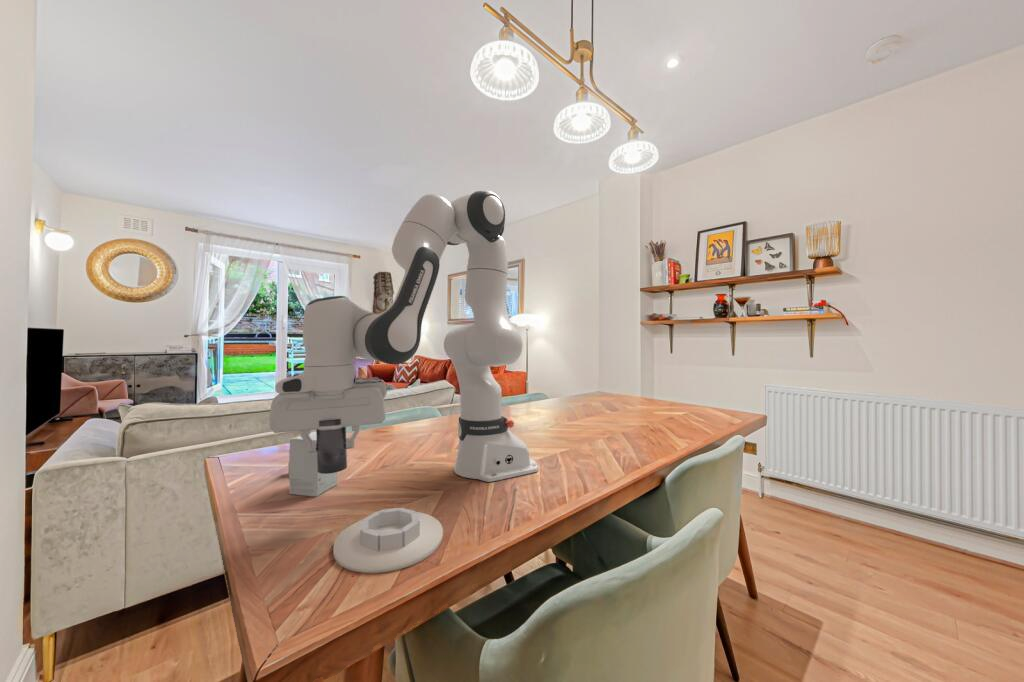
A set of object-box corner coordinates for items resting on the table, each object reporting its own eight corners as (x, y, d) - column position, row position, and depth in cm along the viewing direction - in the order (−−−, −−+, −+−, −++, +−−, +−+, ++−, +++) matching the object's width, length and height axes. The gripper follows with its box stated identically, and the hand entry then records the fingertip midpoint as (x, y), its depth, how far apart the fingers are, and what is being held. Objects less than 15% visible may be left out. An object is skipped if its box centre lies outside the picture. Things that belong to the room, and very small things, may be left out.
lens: (348, 462, 77) (347, 413, 77) (346, 471, 72) (345, 419, 72) (319, 465, 75) (317, 416, 75) (314, 475, 70) (313, 422, 70)
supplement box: (317, 497, 83) (317, 440, 83) (288, 494, 85) (288, 438, 85) (338, 484, 90) (338, 432, 90) (312, 482, 92) (312, 430, 92)
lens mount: (435, 510, 77) (435, 493, 77) (451, 559, 60) (451, 537, 60) (338, 524, 71) (339, 506, 71) (326, 583, 54) (326, 559, 54)
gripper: (386, 374, 79) (387, 439, 80) (274, 380, 73) (276, 451, 73) (386, 378, 74) (388, 448, 74) (265, 384, 67) (267, 461, 67)
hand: (331, 449), depth 73 cm, fingers closed on lens, 5 cm apart
